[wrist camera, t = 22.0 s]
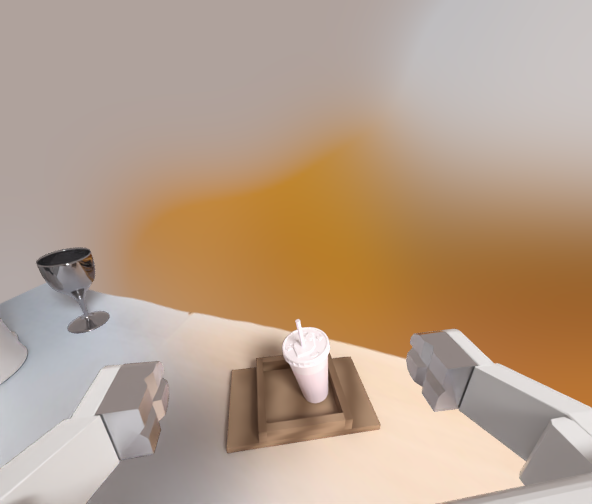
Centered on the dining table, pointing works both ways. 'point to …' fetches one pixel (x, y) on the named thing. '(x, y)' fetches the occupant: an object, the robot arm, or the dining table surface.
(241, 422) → the tray
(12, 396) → the dining table surface
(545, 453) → the robot arm
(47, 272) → the wine glass
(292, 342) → the smoothie
